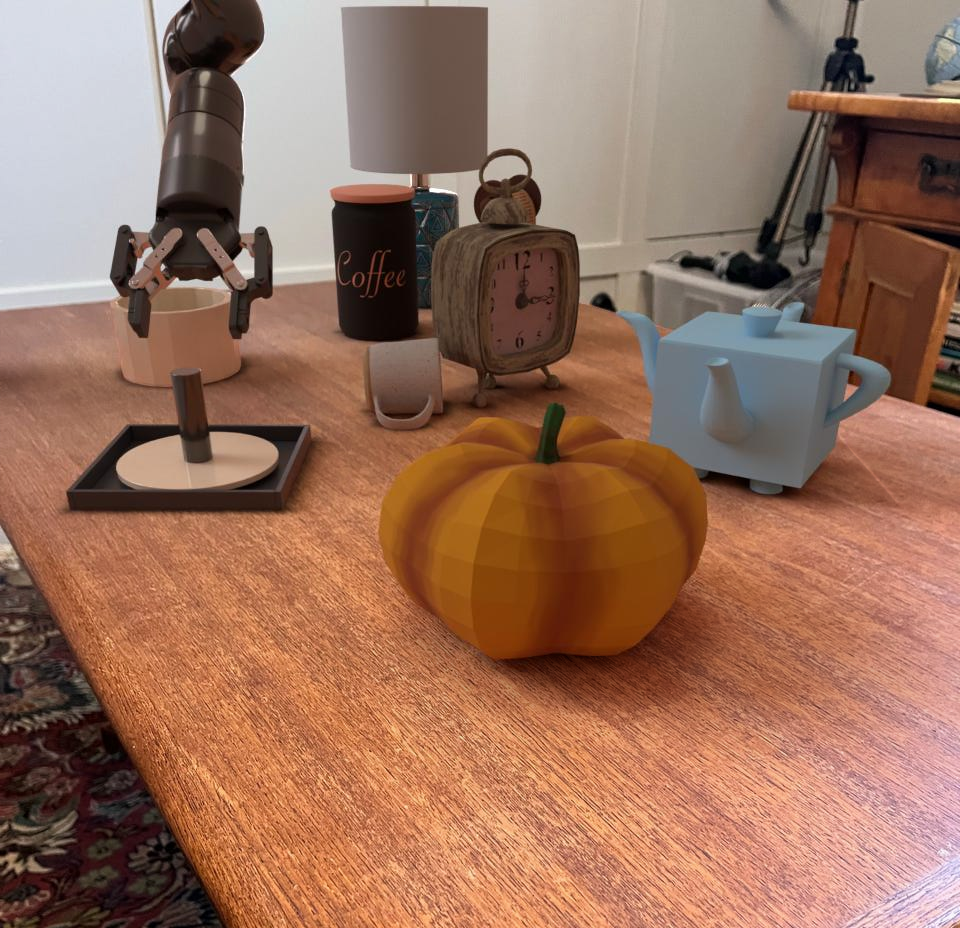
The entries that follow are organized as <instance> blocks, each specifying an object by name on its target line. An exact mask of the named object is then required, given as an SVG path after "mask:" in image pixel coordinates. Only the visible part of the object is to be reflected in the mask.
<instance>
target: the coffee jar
mask: <svg viewBox="0 0 960 928" xmlns="http://www.w3.org/2000/svg"><path fill="white" fill-rule="evenodd" d="M329 193H330V198H331V199H332V200H333V202H334V206H333V208H332V210H331V227H332V241H333V255H334V257H333V258H334V271H335V283H336V284H335V287H336V300H337V301H336V302H337V315H338V326H339V328H340V330H341V332H342V334H344V336H345V337H347V338H350V339H353V340H357V341H366V342H391V341H395V340H402V339H405V338H410V336H413V335H414V333H415V332H416V331H417V330H418V328H419V324H420V323H419V321H420V320H419V318H420V317H419V316H420V315H419V308H418V280H417V244H416V212H415V209H414V208H413V206H412V205H411V201H412V199H413V198H414V197H415V190H414V189H413V188H412V187H410V186H407V185H400V184H389V183H367V184H366V183H365V184H363V183H360V184H350V185H342V186H341V185H340V186H336V187H333V188H332V189H330V190H329Z"/></svg>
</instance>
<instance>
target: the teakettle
mask: <svg viewBox="0 0 960 928" xmlns="http://www.w3.org/2000/svg"><path fill="white" fill-rule="evenodd" d="M804 309H805V303H804V302H801V301H793V302H790V303H788V304H787V305H785V306H784V308H783V309H782V310H780V309H778V308H775V307H771V306H763V305H762V306H761V305H760V306H759V305H757V306H756V305H755V306H749V307H746V308H743V309H742V310H741V312H742V315H741V314H733V313H725V312H719V311H718V312H716V311H711V310H706V311H705V312H703V313H701V314H699V315H698V316H696V317H694V318H693V319H691V320H689V321H688V322H686V323H684V324H682V325H681V326H679V327H677V328H675V329H674V330H672V331H671V332H669V333H668V334H666V335H664V336H662V337H661V336H660V333H659V330H658V328H657V326H656V324H655V322H653V321H652V319H651V318H650V317H648V316H647V315H646V314H642V313H638V312H633V311H626V310H617V311H615V314H616V315H617V316H619V317H620V318H621V319H622V320H624V321H625V322H626V323H628V324H629V325H630V327H631V328H632V329H633V331H634V333H635V334H636V337H637V339H638V343H639V346H640V351H641V358H642V365H643V371H644V378H645V382H646V385H647V389H648V390H649V392H650V394H651V396H652V404H651V405H652V406H651V417H650V426H649V438H648V443H651V444H655V445H659V446H663V447H667V448H669V449H670V450H671V451H673V452H674V453H675V454H677V455H678V456H679V457H680V458H682V459H683V460H684V461H685V462H687V463H688V464H689V465H690V466H692V467H693V469H694V471H695V473H696V475H697V477H698V479H703V478H706V477H707V476H708V474H709V472H715V473H720V474H725V475H731V476H735V477H740V478H746V479H749V488H750V490H752V491H754V492H756V493H758V494H764V495H776V494H780V493H782V492H783V486H786V487H792V488H797V489H801V488H802V487H803V486H804V485H805V484H806V483H807V481H808V480H809V479H810V477H811V476H812V475H813V474H814V473H815V471H816V470H817V469H818V468H819V467H820V465H821V464H822V463H823V462H824V461H825V459H826V458H828V456H829V454H830V453H831V452H832V451H833V449H835V447H836V444H837V438H838V434H839V429H840V423H841V422H842V421H845V420H847V419H849V418H851V417H852V416H855V415H856V414H858V413H860V412H862V411H864V410H865V409H867V408H868V407H870V406H871V405H873V404H875V403H876V402H877V401H878V400H879V399H880V398H881V397H882V396H883V395H884V394H885V393H886V392H887V390H888V388H889V387H890V385H891V381H892V375H891V372H890V371H889V370H888V368H886V367H885V366H883V364H881V363H879V362H876V361H875V360H871V359H868V358H865V357H862V356H858V355H854V350H855V344H856V339H857V334H858V332H857V330H856V329H853V328H846V327H845V328H844V327H837V326H830V325H821V324H814V323H807V322H806V323H805V322H800V320H801V317H802V314H803V312H804ZM850 371H851V372H854V373H855V374H857V375H859V376H860V377H861V383H860V384H859V386H858V387H857V389H856V390H855V391H854V392H853V393H851V395H850V396H849V397H848V398H846V399H845V396H846V391H847V387H848V380H849V375H850Z"/></svg>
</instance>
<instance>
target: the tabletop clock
mask: <svg viewBox="0 0 960 928" xmlns="http://www.w3.org/2000/svg"><path fill="white" fill-rule="evenodd" d="M510 156H511V157H517V158H519V159H521V160H522V161H523V162H524V163H525V165H526V168H527V174H526V175H527V177H526V178H525V179H524V180H523V181H522V182H521V183H519V184H517V185H515V186H511V182H510V180H509V179H510V178H509V179H508V178H503V179H501V181H500V182H501V188H495V187H492V186H489V185H488V184H487V183H485V182H486V181H485V179H484V174H485V173H484V172H485V170H486V168H487V167H488V166H487V165H489V164H490V163H491V162H492V161H493V160H495V159H498V158H501V157H510ZM486 166H487V167H486ZM532 175H533V167H532V163H531V159H530V158H529V156H528V155H527V154H526V153H525V152H523V151H522V150H520V149H517V148H510V147H509V148H499V149H497V150H493V151H492V152H490V153H489V154H488V156H487V157H486V158H485V159H484V161H483V162H482V164H481V167H480V170H478V181H479V183H480V186H482V187H483V188H484V189H485V190H486V191H487V192H489V193H492V194H495V195H501V198H496V199H493V200H491V201H490V202H489V203H488V204H487V205H486V206H485V208H484V210H483V212H482V216H481V221H482V222H481V223H480V222H477V223H473V224H468V225H464V226H459V228H456V229H454V230H452V231H450V232H449V233H447V234H446V235H444V236H443V237H442V238H440V239H439V240H438V241H437V242H436V245H435V248H434V252H433V259H432V274H431V303H432V308H431V317H432V328H433V334H434V338H438V340H439V348H440V356H441V357H442V358H443V359H444V360H448V361H450V362H454V363H456V364H459V365H462V366H465V367H469V368H471V369H474V370H475V372H476V374H477V393H475V394H473V397H472V404H473V406H474V407H476V408H479V409H481V408H485V407H486V405H487V403H488V398H487V395H486V394H485V393H484V391H485V390H484V389H495V388H496V386H497V384H498V383H497V378H496V377H503V376H511V375H517V374H518V375H519V374H525V373H530V372H533V371H536V370H539V369H540V371H541V372H542V373H543V374H544V376H545V380H544V381H545V386H546V387H547V388H548V389H549V390H551V389H553V390H554V389H555V390H556V389H557V388H559V385H560V378H559V377H558V376H557V375H556V374H551V373H550V371H549V368H548V366H551V365H553V364H556V363H557V362H560V361H561V360H563V359H564V358H565V357H566V356H568V355H569V354H570V353H571V350H572V347H573V344H574V340H575V337H576V331H577V325H578V316H579V308H580V307H579V306H580V296H581V264H580V263H581V261H580V251H579V244H578V241H577V236H576V234H574V233H572V232H571V231H569V230H566V229H561V228H555V227H552V226H551V227H550V226H545V225H541V224H536V225H535V224H529V223H524V222H528V221H530V218H529V215H528V212H527V210H526V208H525V206H524V205H523V204H522V202H521V201H520V200H518V199H515V198H510V197H511V194H513V193H516V192H518V191H520V190H521V189H523V188H524V187H525V186H526V185H527V183H528V182H529V180H530V178H532ZM495 376H496V377H495Z"/></svg>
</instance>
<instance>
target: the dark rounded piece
mask: <svg viewBox="0 0 960 928" xmlns="http://www.w3.org/2000/svg"><path fill="white" fill-rule="evenodd" d="M526 177H527V174H520V173H519V174H515V175H513V176H511V177H509V180H510V182H511V186H515V185H517V184H519V183H521V182H522V181H523V180H524V179H525V178H526ZM484 182H485V183H487V184H488V185H489V186H492V187H495V188H501V181H500V180H497V179H489V180H487V181H484ZM496 198H501V195H495V194H492V193H489V192H487V191H486V190H485V189H484V188H483V187H482V186H481V185H480V186H478V187H477V189H476V191H475V193H474V198H473V211H474V215H475V217H476V219H477V221H478V223H481V222H482V221H481V216H482V212H483V210H484V208H485V206H486V205H487V204H488V203H489V202H490V201H491V200H493V199H496ZM510 198H515V199H518V200H520V201H521V202H522V204H523V205H524V206H525V208H526V210H527V212H528V215H529V218H530V221H528V222H524V223H529V224H535V225H537V216H538V215H539V213H540V211H541V206H542V193H541V190H540V187H539V185H538V183H537V182H536V181H535V180H534V178H533V177H531V178H530V180H529V182H528V183H527V185H526V186H525V187H524V188H523V189H521V190H520V191H518V192H516V193H513V194H511V197H510Z"/></svg>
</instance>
